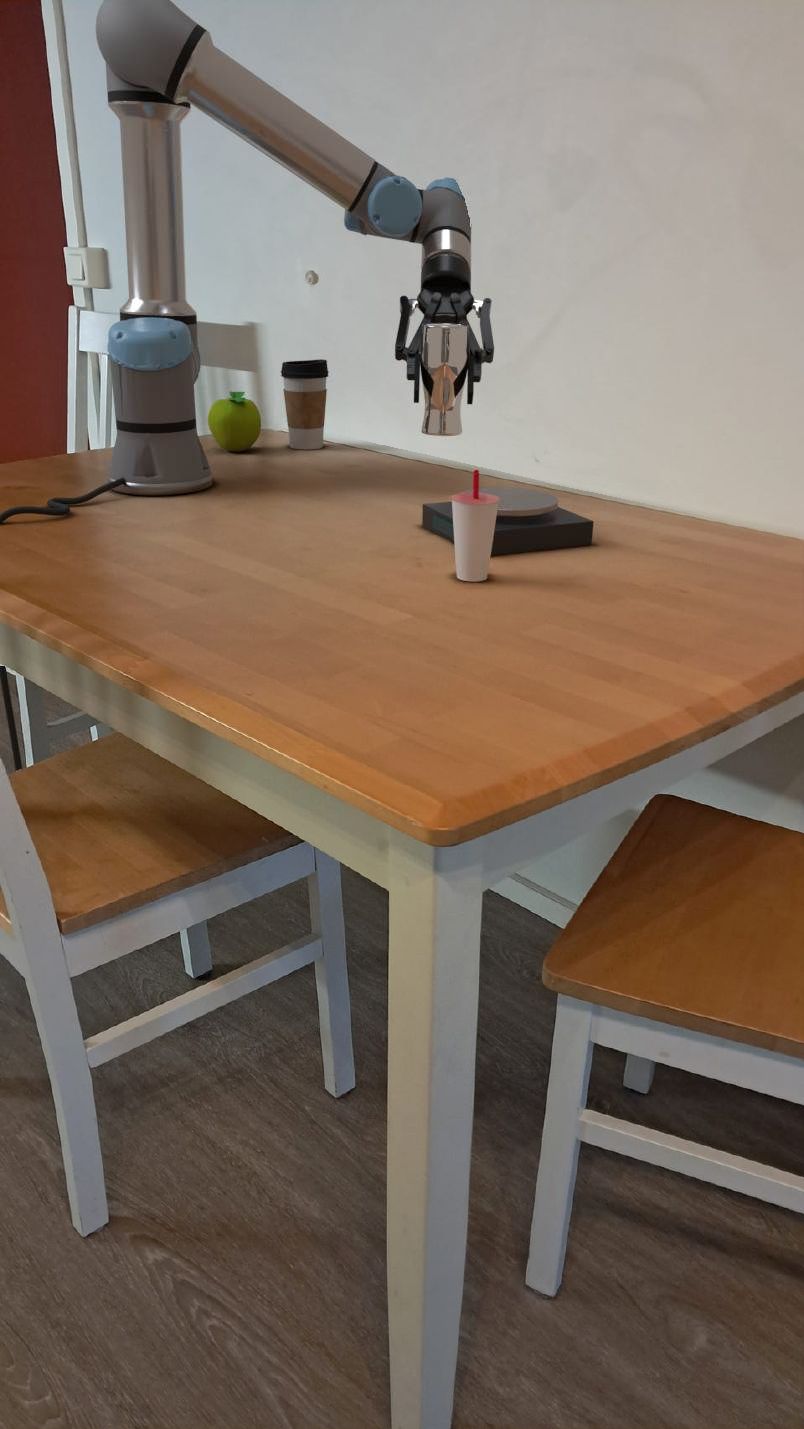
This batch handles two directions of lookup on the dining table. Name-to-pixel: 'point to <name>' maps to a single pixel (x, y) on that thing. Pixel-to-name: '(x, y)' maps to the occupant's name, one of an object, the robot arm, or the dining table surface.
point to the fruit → (235, 422)
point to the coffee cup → (305, 402)
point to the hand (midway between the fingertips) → (443, 397)
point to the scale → (518, 529)
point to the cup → (473, 531)
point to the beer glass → (443, 376)
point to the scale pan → (520, 501)
